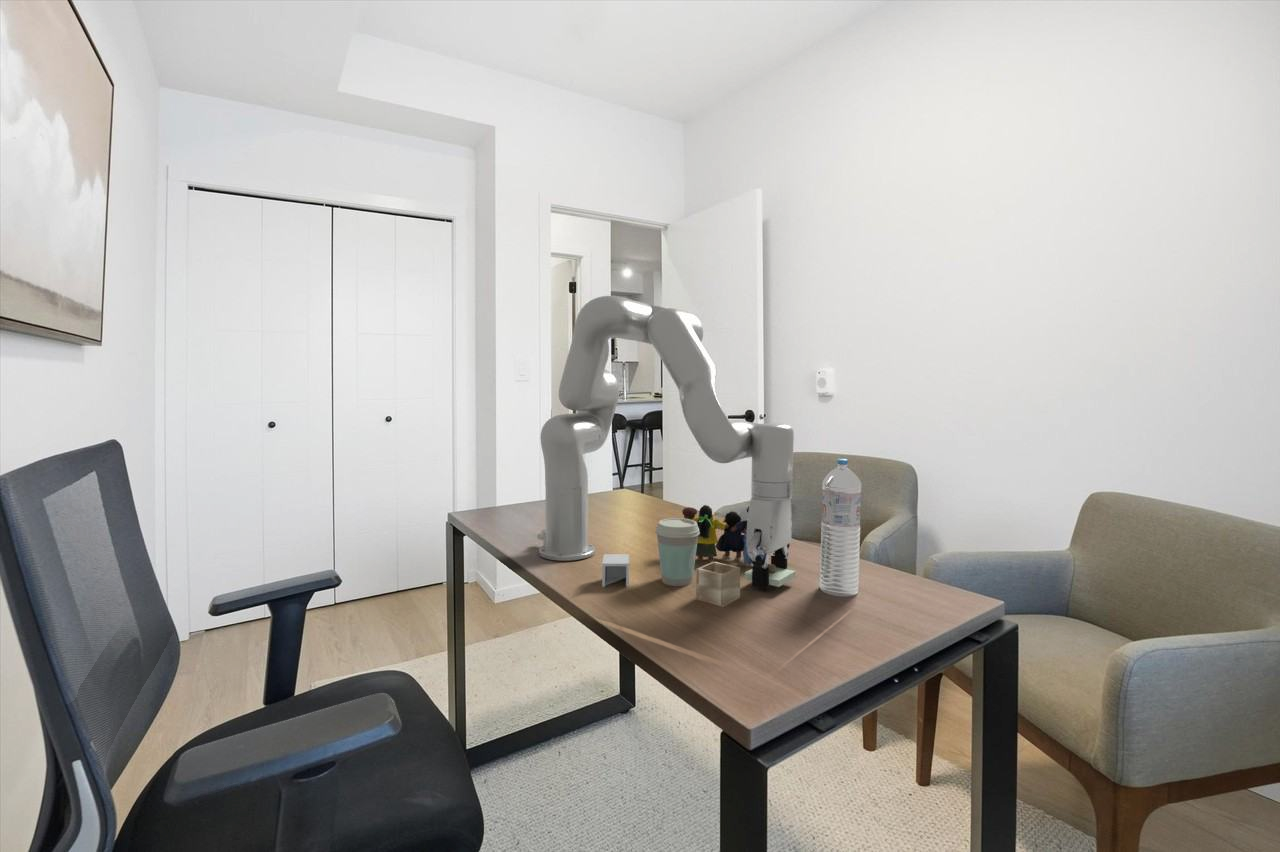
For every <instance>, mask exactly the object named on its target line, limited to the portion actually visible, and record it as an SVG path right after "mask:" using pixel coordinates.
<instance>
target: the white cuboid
mask: <svg viewBox="0 0 1280 852" xmlns="http://www.w3.org/2000/svg"><path fill="white" fill-rule="evenodd" d="M601 563H602V565H601V578H602V579H601V587H602V588H604V587H606V586H608V585H611V584H614V583H617V582H618V581H621V580H623V579H625V587H626V588H628V587H630V554H628V553H627V554H626V553H621V554H618V553H604V554H603V558H602V561H601Z"/></svg>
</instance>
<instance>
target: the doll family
mask: <svg viewBox="0 0 1280 852" xmlns="http://www.w3.org/2000/svg"><path fill="white" fill-rule="evenodd" d="M746 512H747V513H748V512H749V506H748V507H747V508H746ZM697 513H698V517H696V515H697ZM682 515H683V519H690V520H693V521H696V522H697V525H698V528H699V532H700V534H699V535H698V540H697V549H696V557H697V560H698V561H703V560H704V559H705V558H708V559H707V560H708V562H713V561H714V562H715V558H714V557H718V555H717V551H719V552H723V555H722V558H723V559H724V560H732V554H731V552H733V553H736V554H735V557H734V561H736V562H742V561H743V565H744V566H747V567H752V566H751V561H750V558H749V555H748V554H747V547H746V534H747V521H748V519H744V520H742V517H741V516H740V515H739V514H738V513H737V512H736V511H729V512H727V513H726V514H725V516H724V519H723V521H722V520H720V519H717V518H714V514H713V509H712V508H711V507H710V506H709V505H707V504H704V505H702V507H700V509H699V511H698V510H697V509H696V508H694V507H690V506H688V507H685V508H683V509H682ZM716 530H721V532H722V531H723V534H721V535H720V537H719V538H718V537H717V533H716ZM759 549H760V550H765V548H763V547H759ZM758 555H759V556H761V558H762V560H763V557H764V554H760V553H759V554H758Z"/></svg>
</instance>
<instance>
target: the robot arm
mask: <svg viewBox="0 0 1280 852" xmlns="http://www.w3.org/2000/svg"><path fill="white" fill-rule="evenodd" d="M574 323H575V324H574V327H573V333H572V339H571V343H570V348H569V351H568V354H567V358H566V361H565V363H564V364H565V365H564V369H563V372H562V376H561V380H560V383H559V387H558V399H559V401H560V403H561V405H562V406H563V407H564V408H566V409H567V410H571V411H577V412H576V413H572V412H571V413H563V414H558V415H555V416H552V417H550V418H549V419H548V420H547V421H545V423H544V424H543V426H542V428H541V432H540V438H539V439H540V446H541V450H542V456H543V461H544V481H545V482H544V483H545V484H544V486H545V528H544V529H542V530H541V532H539V533H537V535H536V537H537V539H538V540H541V541H543V544H542V545H541V546H540V547H539V549H538V554H539V556H540V557H542V558H544V559H547V560H551V561H559V562H560V561H563V562H566V561H568V562H570V561H578V560H583V559H588V558H590V557H592V556H594V554H595V553H596V547H595V546H594V545H593V544H592V543H589V483H588V482H589V480H588V479H589V476H588V469H587V465H586V462H585V459H584V457H583V455H584V454H590V453H592V452H593V453H594V452H596V451H598V450H599V449H601V447H603V446H604V444H605V443H606V441H607V440H608V439H607V438H608V436H609V433H610V431H611V430H610V429H611V427H612V422H613V419H614V416H615V412H616V408H617V407H618V401H619V397H620V386H619V383H618V380H617V378H616V376H615V375H614V374H613V373H612V372H610V370H607V369H606V366H607V362H608V359H609V355H610V345H609V339H614V338H615V339H621V340H627V341H628V340H629V341H634V342H635V341H636V342H641V343H646V344H649V345H652V346H653V347H654V349H655V351H656V352H657V354H658V356H659V358H660V360H661V361H662V364H664V366H665V368H666V370H667V372H668V373H669V375H670V377H671V378H672V380H673V382H674V384H675V385H676V388H677V390H678V393H679V394H678V395H679V401H680V405H681V409H682V413H683V416H684V419H685V422H686V424H687V426H688V428H689V431H691V434H692V435H693V437H694V439H695V441H696V442H697V445H698V446H699V447H700V449H701V450H702V452H703V453H704V454H705V455H706V456H707V458H709V459H710V460H712V461H714V463H715V462H716V463H718V464H728V463H732V462H735V461H737V460H743V459H748V458H751V484H750V485H751V487H750V488H751V490H750V491H751V492H750V493H751V494H750V497H751V498H750V501H749V505H748V507H749V512H747V520H748V521H747V534H746V547H747V554H748V555H749V558H750V561H751V566H750V567H752V568H751V569H752V580H751V586H752V587H755V588H759V589H762V590H768V589H769V588H770V585H769V568H767V564H769V560H770V564H773V565H776V567H777V568H782V569H788V558H789V548H790V546H791V545H790V542H791V540H792V537H793V534H792V529H793V528H792V521H793V520H792V502H791V500H792V499H793V483H794V482H793V477H794V475H793V472H794V440H795V439H794V430H793V428H792V426H790V425H789V424H785V423H778V422H777V423H775V422H773V423H771V422H769V423H766V422H765V423H763V422H762V423H757V422H751V421H748V420H747V421H746V420H731V421H730V420H729V418H728V416H727V415H726V413H725V412H724V409H723V408H722V406H721V404H720V402H719V399H718V397H717V394H716V389H715V381H716V377H717V367H716V365H715V363H714V361H712V358H711V357H710V355H709V353H708V352H707V350H706V348H705V347H704V346H703V344H702V341H703V337H704V329H703V325H702V323H701V321H700V320H699V318H698V317H697V316H696V315H694V314H693V313H691V312H688V311H684V310H681V309H678V308H677V309H676V308H669V307H663V306H658V305H653V304H650V303H648V302H647V303H646V302H642V301H637V300H634V299H630V298H628V297H623V296H617V295H603V296H598V297H594V298H593V299H591V300H589V301H588V302H587V303H585V304H584V305H583V307H581V309H579V312H578V314H577V316H576V320H575V322H574ZM759 547H763V548H764V550H760V549H759ZM759 553H760V554H764V557H763V560H762V558H761V556H759V555H758V554H759ZM771 553H772V555H771ZM770 555H771V556H770Z"/></svg>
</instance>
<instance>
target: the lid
mask: <svg viewBox="0 0 1280 852" xmlns="http://www.w3.org/2000/svg"><path fill="white" fill-rule="evenodd" d="M767 568H769V586H774V587H777V588H779V587H781V586H783V585H785V584H787V583H788V582H789V581H791V580H793V579H795V578H796V573H797V572H796V570H792V569H788V568H787V569H782V568H777V567H776V565H773V564H771V563H768V564H767ZM744 579H745V580H749V581H752V568H751V569H749V570H746V571H745V572H744Z"/></svg>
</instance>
